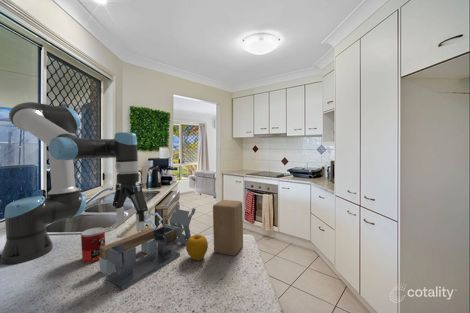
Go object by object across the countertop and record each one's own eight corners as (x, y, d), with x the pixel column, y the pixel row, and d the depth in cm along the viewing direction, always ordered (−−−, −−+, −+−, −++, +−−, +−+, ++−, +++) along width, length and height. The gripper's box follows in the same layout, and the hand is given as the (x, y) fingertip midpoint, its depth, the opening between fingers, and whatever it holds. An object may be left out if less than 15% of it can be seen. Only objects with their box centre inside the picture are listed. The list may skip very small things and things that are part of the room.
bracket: (196, 239, 95) (195, 208, 94) (180, 248, 86) (179, 214, 86) (177, 233, 102) (177, 204, 101) (161, 241, 93) (160, 210, 93)
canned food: (94, 264, 75) (92, 235, 75) (76, 262, 77) (75, 234, 77) (110, 253, 83) (109, 227, 83) (94, 252, 85) (93, 226, 84)
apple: (184, 255, 81) (183, 233, 80) (205, 250, 84) (204, 229, 84) (188, 266, 73) (187, 242, 73) (210, 260, 76) (210, 238, 76)
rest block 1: (99, 270, 71) (99, 256, 71) (111, 265, 75) (111, 251, 75) (106, 275, 69) (106, 260, 68) (118, 269, 72) (118, 255, 72)
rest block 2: (141, 250, 85) (141, 239, 85) (149, 247, 88) (149, 235, 88) (148, 254, 82) (148, 242, 82) (157, 249, 86) (156, 238, 85)
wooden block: (213, 252, 82) (211, 204, 81) (223, 242, 91) (222, 199, 91) (235, 257, 78) (234, 207, 78) (244, 245, 88) (243, 200, 87)
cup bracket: (105, 279, 66) (104, 247, 66) (163, 249, 85) (162, 224, 85) (122, 290, 61) (120, 256, 60) (179, 256, 80) (179, 229, 80)
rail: (100, 257, 71) (99, 247, 71) (150, 236, 88) (150, 228, 88) (105, 260, 69) (104, 250, 69) (155, 238, 86) (155, 229, 86)
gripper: (101, 172, 81) (104, 224, 81) (137, 174, 67) (140, 236, 68) (120, 170, 87) (122, 218, 88) (156, 172, 74) (159, 229, 74)
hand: (130, 226), depth 78 cm, fingers open, 13 cm apart
